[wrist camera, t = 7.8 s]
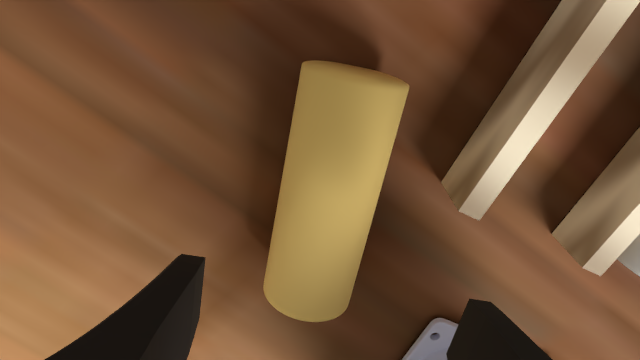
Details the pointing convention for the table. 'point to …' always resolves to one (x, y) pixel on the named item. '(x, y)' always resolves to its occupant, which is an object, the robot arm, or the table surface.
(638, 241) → the tall white tube
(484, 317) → the robot arm
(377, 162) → the pale yellow cylinder
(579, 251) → the rack
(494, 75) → the table surface
